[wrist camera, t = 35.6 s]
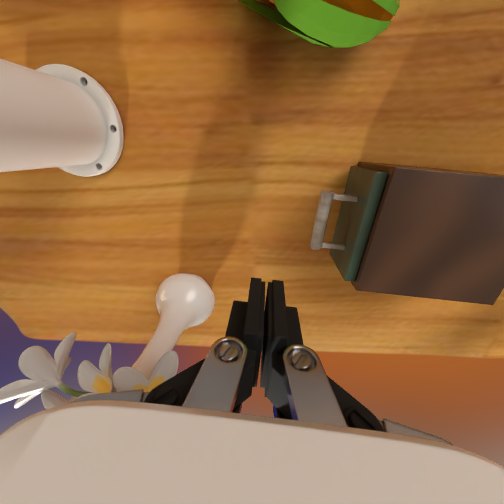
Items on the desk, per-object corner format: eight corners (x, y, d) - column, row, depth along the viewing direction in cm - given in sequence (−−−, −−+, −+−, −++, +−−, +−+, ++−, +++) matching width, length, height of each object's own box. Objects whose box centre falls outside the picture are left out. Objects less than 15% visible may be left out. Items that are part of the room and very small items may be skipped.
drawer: (301, 250, 35) (309, 277, 28) (317, 162, 30) (332, 167, 23) (427, 264, 34) (469, 294, 27) (466, 176, 29) (530, 185, 22)
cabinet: (334, 255, 36) (356, 290, 27) (358, 161, 30) (395, 166, 21) (437, 266, 35) (493, 305, 27) (481, 172, 30) (570, 183, 21)
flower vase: (135, 244, 37) (-76, 395, 15) (247, 268, 38) (213, 452, 15) (135, 308, 43) (-18, 491, 20) (233, 328, 43) (193, 531, 20)
